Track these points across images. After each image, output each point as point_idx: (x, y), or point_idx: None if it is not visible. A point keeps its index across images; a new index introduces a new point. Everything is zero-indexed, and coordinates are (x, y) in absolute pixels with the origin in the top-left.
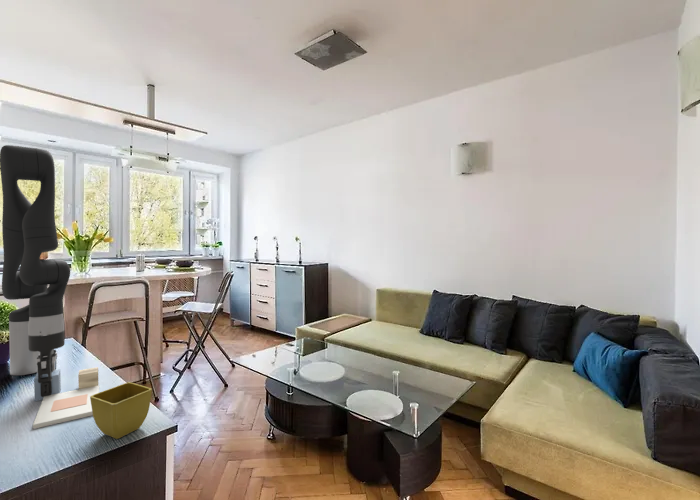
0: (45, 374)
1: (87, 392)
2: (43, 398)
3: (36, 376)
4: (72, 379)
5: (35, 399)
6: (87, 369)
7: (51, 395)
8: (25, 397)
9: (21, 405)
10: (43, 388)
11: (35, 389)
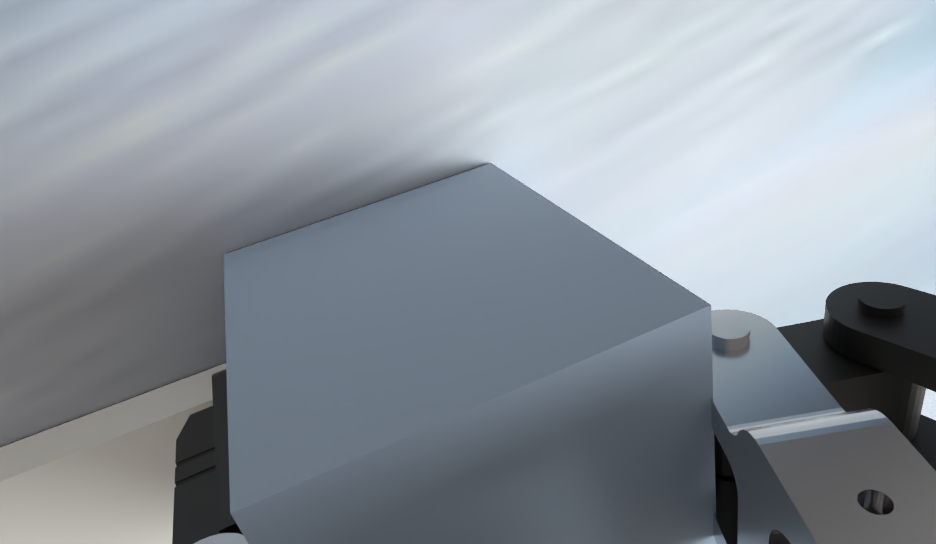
0: (527, 536)
1: None
2: (140, 429)
3: (457, 434)
4: (807, 319)
5: (227, 273)
6: None
7: None
8: (440, 35)
9: (80, 138)
10: (184, 513)
11: (236, 358)
